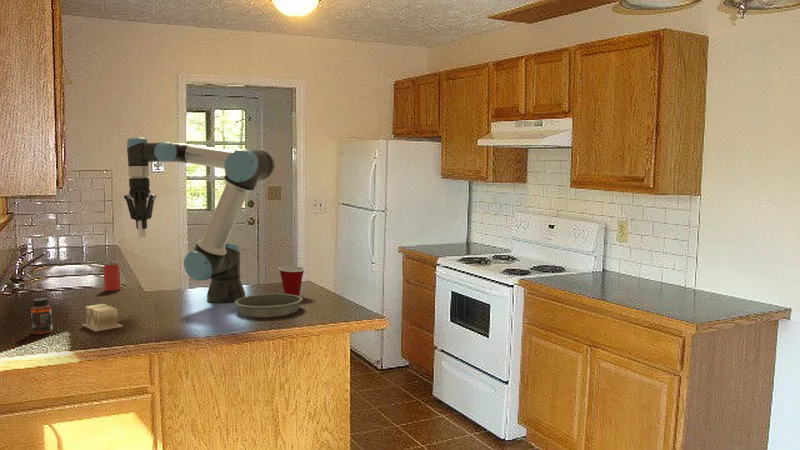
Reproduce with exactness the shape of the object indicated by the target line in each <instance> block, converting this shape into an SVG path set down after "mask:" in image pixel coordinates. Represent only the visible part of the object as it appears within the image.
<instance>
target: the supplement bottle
mask: <svg viewBox="0 0 800 450" xmlns="http://www.w3.org/2000/svg"><path fill="white" fill-rule="evenodd" d="M30 316H31V327H32V328H31V330H32V335H36V336H37V335H38V336H39V335H47V334H50V333H52V332H53V330H54V329H53V327H54V326H53V317H52V316H53V315H52V305H50V304H49V303H48V298H47V297H41V298H34V299H33V305H32V306H31V308H30Z"/></svg>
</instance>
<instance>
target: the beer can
mask: <svg viewBox="0 0 800 450" xmlns="http://www.w3.org/2000/svg"><path fill="white" fill-rule="evenodd" d="M120 269H121V267H120V265H119V263H118V262H106V263H104V266H103V282H104V283H103V284H104V285H103V286H104V291H105V292H109V293H110V292H119V291H120V290H121V289H122V287H121V270H120Z"/></svg>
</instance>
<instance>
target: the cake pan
mask: <svg viewBox="0 0 800 450" xmlns="http://www.w3.org/2000/svg"><path fill="white" fill-rule="evenodd" d="M302 301H303V297H302V296H300V295H299V296H297V295H291V294H284V293H262V294H261V293H260V294H254V295H248V296H246V297H243V298H240V299H238V300H236V301H235V302H234V303H235V305H236V306H237V308H238V312H239V314H240V315H242V316H243V317H250V318H274V317H275V318H276V317H282V316H283V317H284V316H288V315H290V314H292V315H293V314H294V313H296V312H298V310H299V308H300V307H299V306H300V303H301V302H302Z"/></svg>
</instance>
